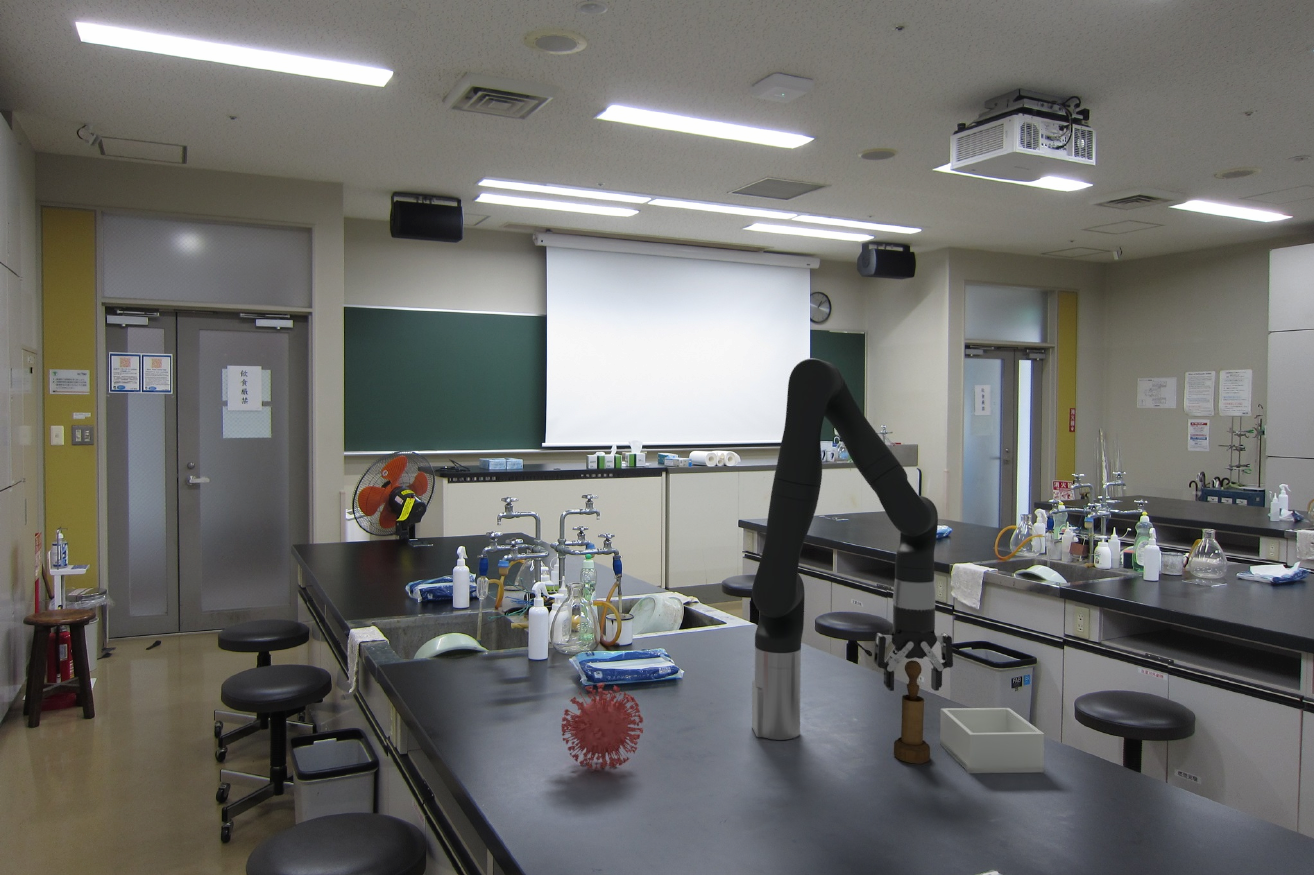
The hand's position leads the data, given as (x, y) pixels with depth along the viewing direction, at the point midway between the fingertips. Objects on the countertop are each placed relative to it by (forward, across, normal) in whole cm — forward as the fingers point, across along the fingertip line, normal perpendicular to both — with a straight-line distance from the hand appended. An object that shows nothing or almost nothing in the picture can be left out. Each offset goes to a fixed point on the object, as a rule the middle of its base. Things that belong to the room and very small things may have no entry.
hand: (912, 689), depth 159 cm
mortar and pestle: (+13, 0, 0) cm, 13 cm away
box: (+13, +14, -1) cm, 19 cm away
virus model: (+13, -58, -3) cm, 59 cm away
